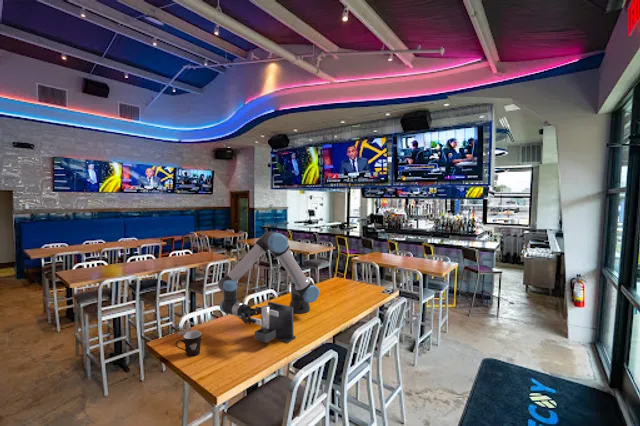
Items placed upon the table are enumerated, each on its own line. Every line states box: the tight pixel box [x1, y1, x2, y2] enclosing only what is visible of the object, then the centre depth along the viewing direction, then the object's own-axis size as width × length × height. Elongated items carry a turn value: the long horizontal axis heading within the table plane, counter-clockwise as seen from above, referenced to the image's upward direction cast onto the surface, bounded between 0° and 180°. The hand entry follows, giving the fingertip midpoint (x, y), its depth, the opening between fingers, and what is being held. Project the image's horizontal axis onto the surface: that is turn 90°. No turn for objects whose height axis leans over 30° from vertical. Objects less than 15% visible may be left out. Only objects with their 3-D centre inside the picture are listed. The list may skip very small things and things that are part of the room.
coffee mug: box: [175, 330, 203, 358], centre depth 158 cm, size 12×9×10 cm
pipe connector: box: [177, 322, 198, 336], centre depth 172 cm, size 10×10×10 cm
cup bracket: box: [254, 301, 297, 344], centre depth 171 cm, size 19×18×19 cm
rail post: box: [260, 305, 270, 334], centre depth 167 cm, size 4×4×16 cm
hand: (269, 318), depth 165 cm, fingers open, 13 cm apart
